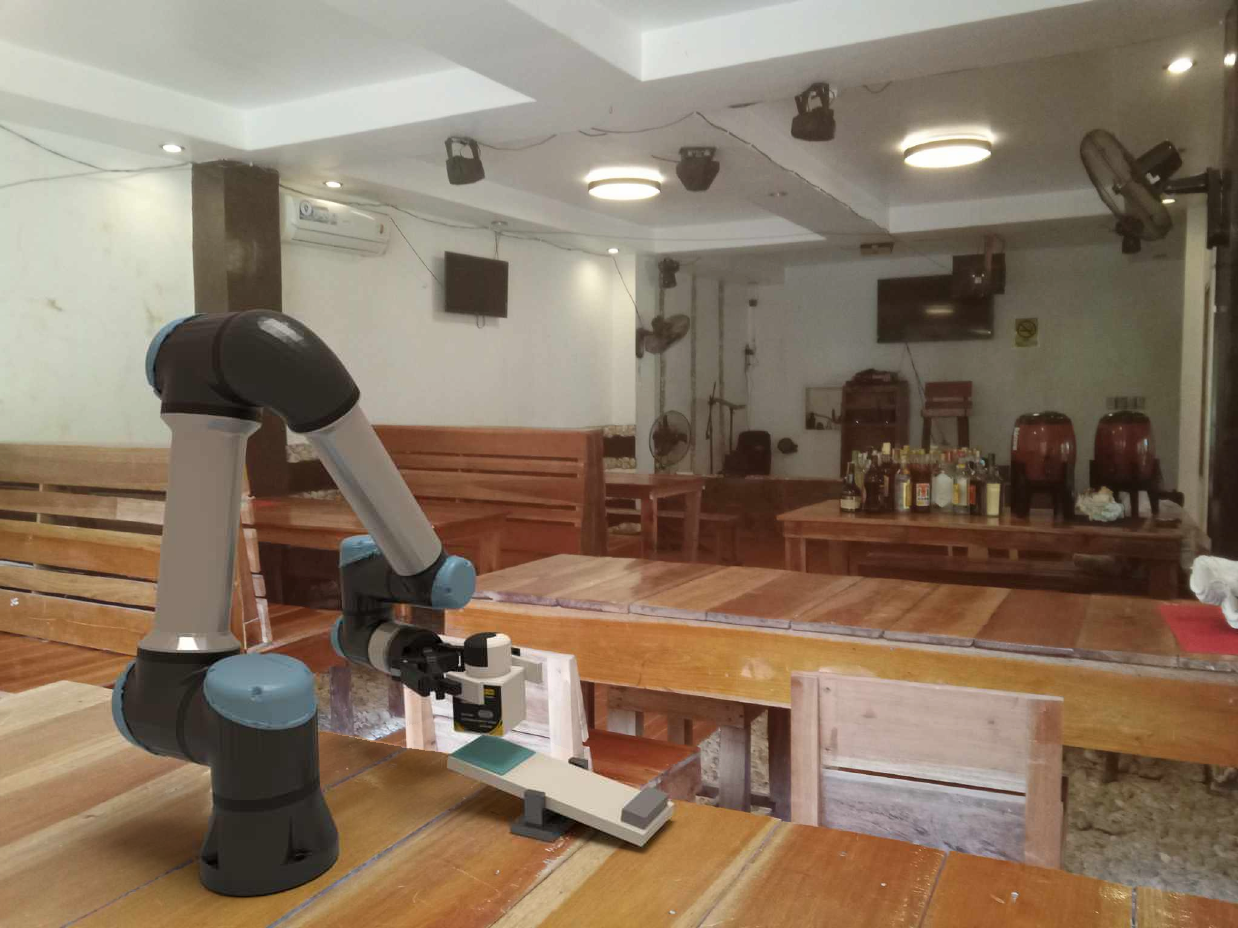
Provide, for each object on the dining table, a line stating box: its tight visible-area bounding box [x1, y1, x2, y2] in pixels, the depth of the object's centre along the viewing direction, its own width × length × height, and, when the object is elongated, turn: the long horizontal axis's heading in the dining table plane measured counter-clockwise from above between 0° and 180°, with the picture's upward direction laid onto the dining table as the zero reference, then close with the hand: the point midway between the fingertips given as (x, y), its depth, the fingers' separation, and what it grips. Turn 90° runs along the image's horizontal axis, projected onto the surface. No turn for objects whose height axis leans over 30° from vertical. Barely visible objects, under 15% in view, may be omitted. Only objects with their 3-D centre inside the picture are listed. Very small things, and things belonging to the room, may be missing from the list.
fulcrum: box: [509, 756, 589, 843], centre depth 120 cm, size 6×13×5 cm, turn 153°
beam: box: [446, 735, 675, 847], centre depth 120 cm, size 28×9×3 cm, turn 64°
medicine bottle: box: [451, 631, 527, 738], centre depth 123 cm, size 7×7×12 cm
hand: (511, 682), depth 120 cm, fingers closed on medicine bottle, 9 cm apart
